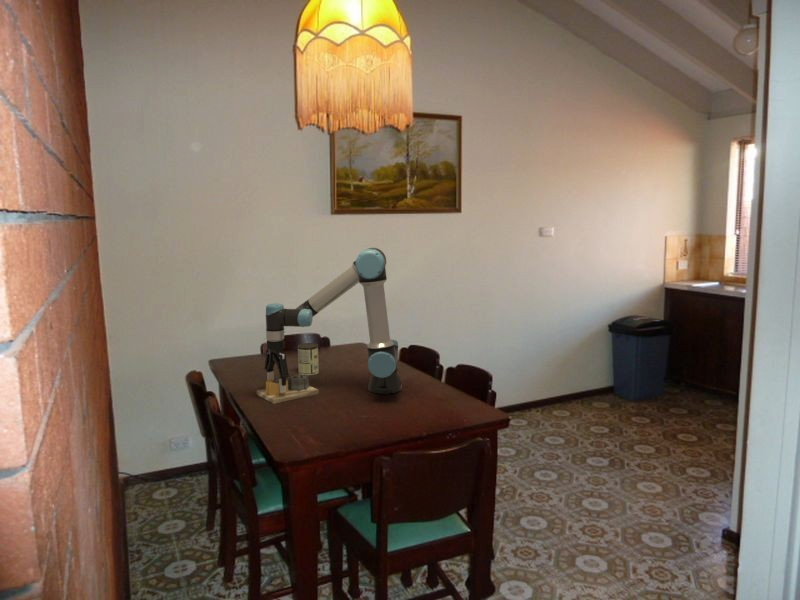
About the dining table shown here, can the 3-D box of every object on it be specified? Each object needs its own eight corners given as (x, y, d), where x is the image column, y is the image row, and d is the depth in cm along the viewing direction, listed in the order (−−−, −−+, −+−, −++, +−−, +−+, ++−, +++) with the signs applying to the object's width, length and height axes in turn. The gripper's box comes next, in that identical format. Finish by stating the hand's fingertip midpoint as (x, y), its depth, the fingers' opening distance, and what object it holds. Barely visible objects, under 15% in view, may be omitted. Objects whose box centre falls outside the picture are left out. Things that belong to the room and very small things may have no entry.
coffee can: (301, 369, 296) (300, 342, 294) (321, 370, 295) (320, 343, 293) (295, 375, 286) (295, 347, 284) (316, 375, 285) (315, 347, 283)
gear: (291, 393, 251) (290, 381, 251) (272, 396, 246) (272, 385, 245) (281, 388, 258) (281, 377, 257) (263, 391, 253) (262, 380, 252)
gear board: (318, 393, 256) (318, 376, 255) (273, 403, 242) (273, 385, 241) (300, 385, 268) (300, 369, 267) (256, 394, 255) (256, 377, 254)
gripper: (296, 343, 242) (297, 394, 245) (271, 334, 260) (272, 381, 263) (280, 345, 237) (281, 397, 241) (255, 336, 255) (257, 384, 258)
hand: (276, 389), depth 252 cm, fingers open, 11 cm apart
